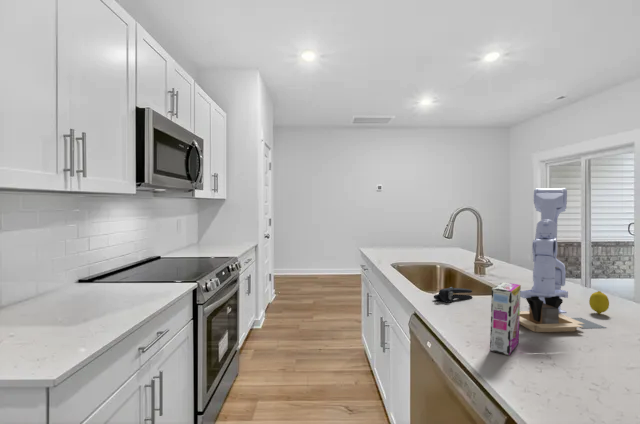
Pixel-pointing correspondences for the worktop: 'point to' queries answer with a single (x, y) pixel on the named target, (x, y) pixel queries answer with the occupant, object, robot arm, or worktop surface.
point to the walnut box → (546, 315)
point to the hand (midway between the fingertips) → (543, 320)
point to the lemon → (599, 302)
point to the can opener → (448, 295)
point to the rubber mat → (588, 324)
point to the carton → (563, 325)
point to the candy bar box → (505, 318)
